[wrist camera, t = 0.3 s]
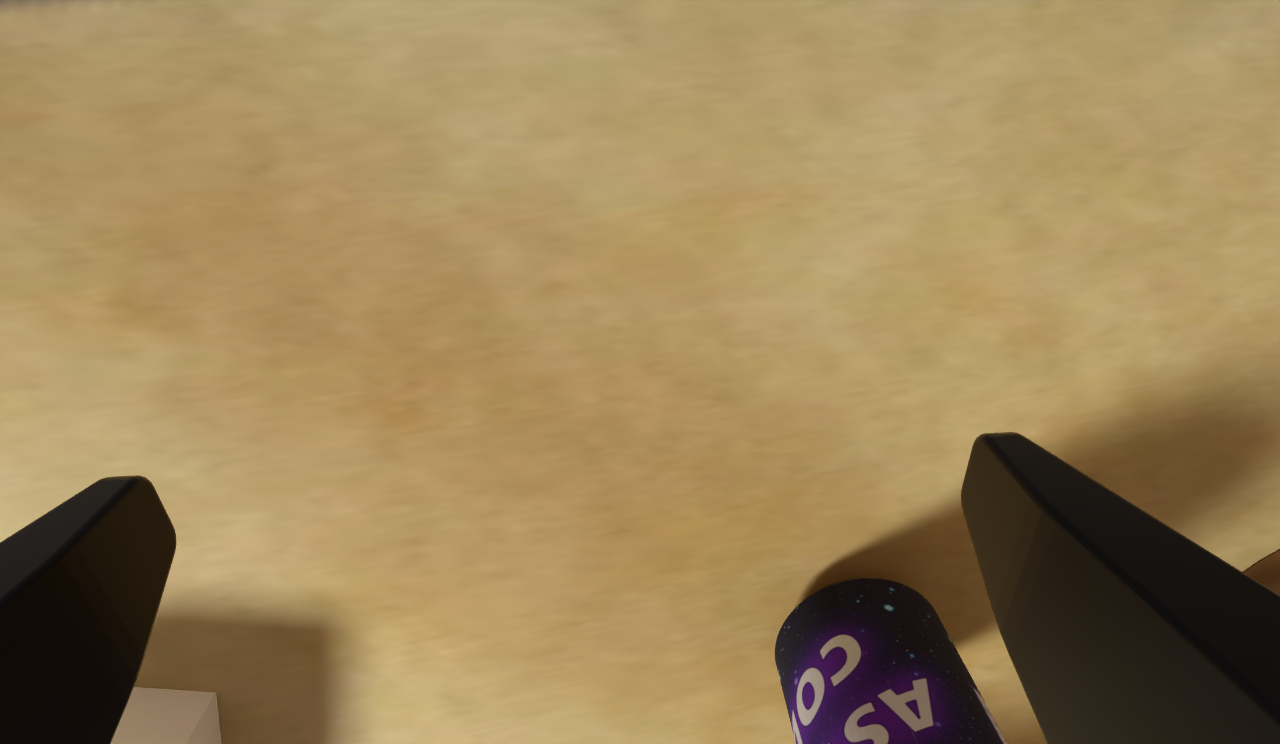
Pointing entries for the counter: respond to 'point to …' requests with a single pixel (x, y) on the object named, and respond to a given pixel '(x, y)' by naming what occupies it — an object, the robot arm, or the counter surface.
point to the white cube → (169, 718)
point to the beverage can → (877, 671)
